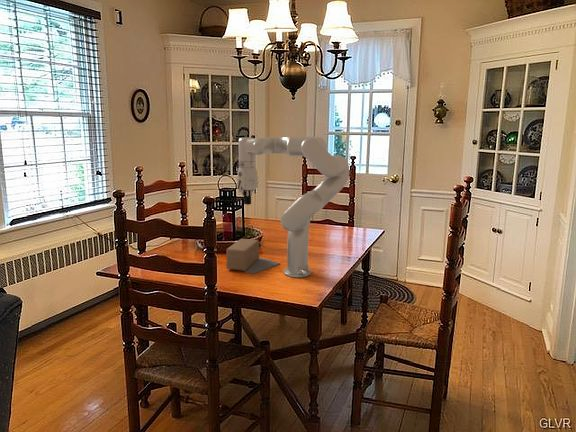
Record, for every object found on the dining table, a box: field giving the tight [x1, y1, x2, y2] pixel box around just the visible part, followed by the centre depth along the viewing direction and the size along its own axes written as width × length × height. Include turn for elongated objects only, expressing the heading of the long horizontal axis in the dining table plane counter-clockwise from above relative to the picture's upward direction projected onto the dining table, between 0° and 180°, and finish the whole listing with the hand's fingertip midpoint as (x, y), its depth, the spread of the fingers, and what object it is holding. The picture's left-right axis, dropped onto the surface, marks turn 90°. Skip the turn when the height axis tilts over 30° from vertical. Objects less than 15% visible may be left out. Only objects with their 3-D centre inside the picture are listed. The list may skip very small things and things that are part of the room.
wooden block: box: [225, 238, 260, 272], centre depth 220 cm, size 10×10×20 cm
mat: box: [240, 257, 281, 275], centre depth 220 cm, size 19×13×1 cm
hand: (247, 204), depth 213 cm, fingers closed
